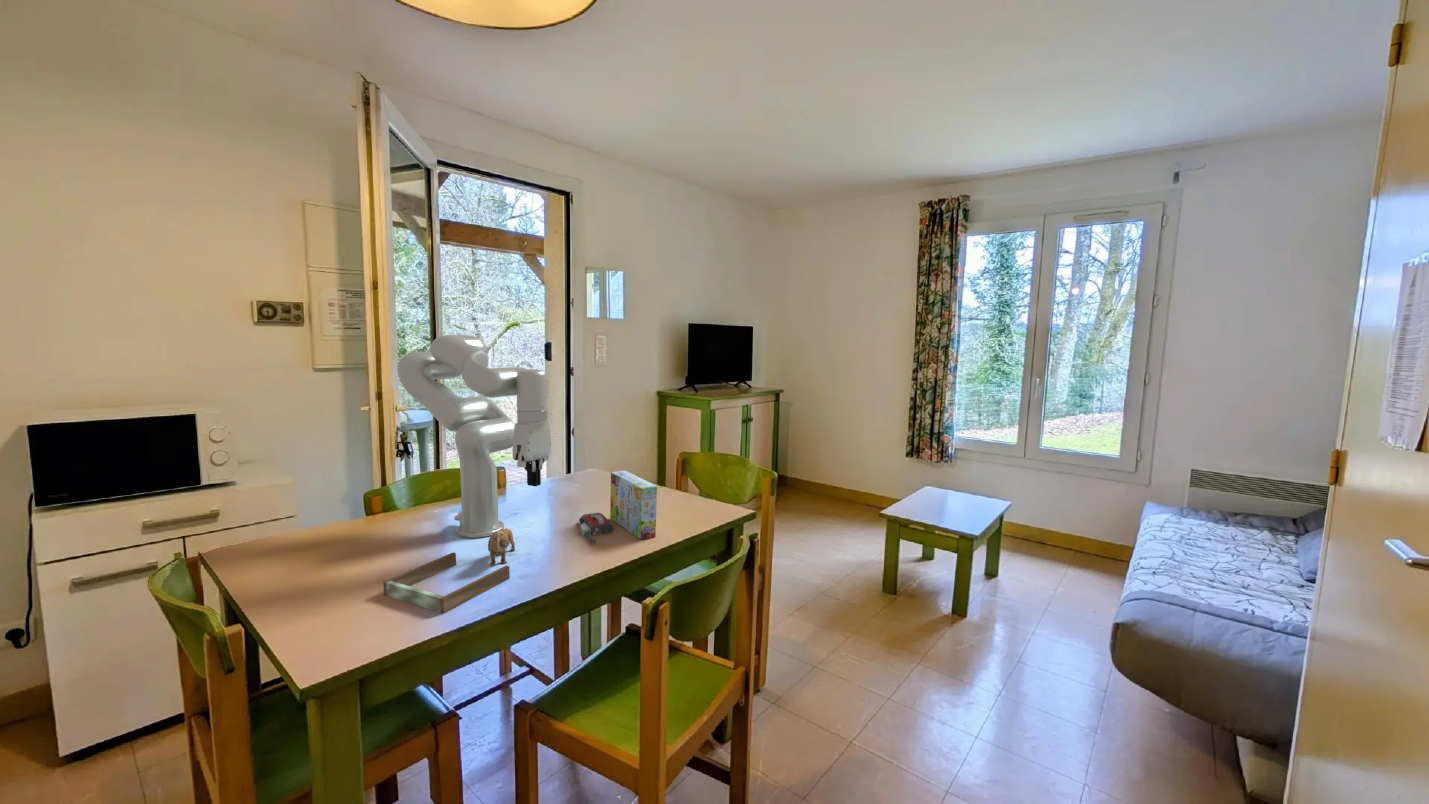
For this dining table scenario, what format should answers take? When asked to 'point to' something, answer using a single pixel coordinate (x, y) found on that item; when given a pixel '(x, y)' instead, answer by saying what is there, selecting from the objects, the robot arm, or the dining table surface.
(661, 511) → the dining table surface
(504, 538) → the lion figurine
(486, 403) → the robot arm
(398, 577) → the u-shaped wooden rail
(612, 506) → the snack box
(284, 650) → the dining table surface
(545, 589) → the dining table surface
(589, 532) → the walkie-talkie
